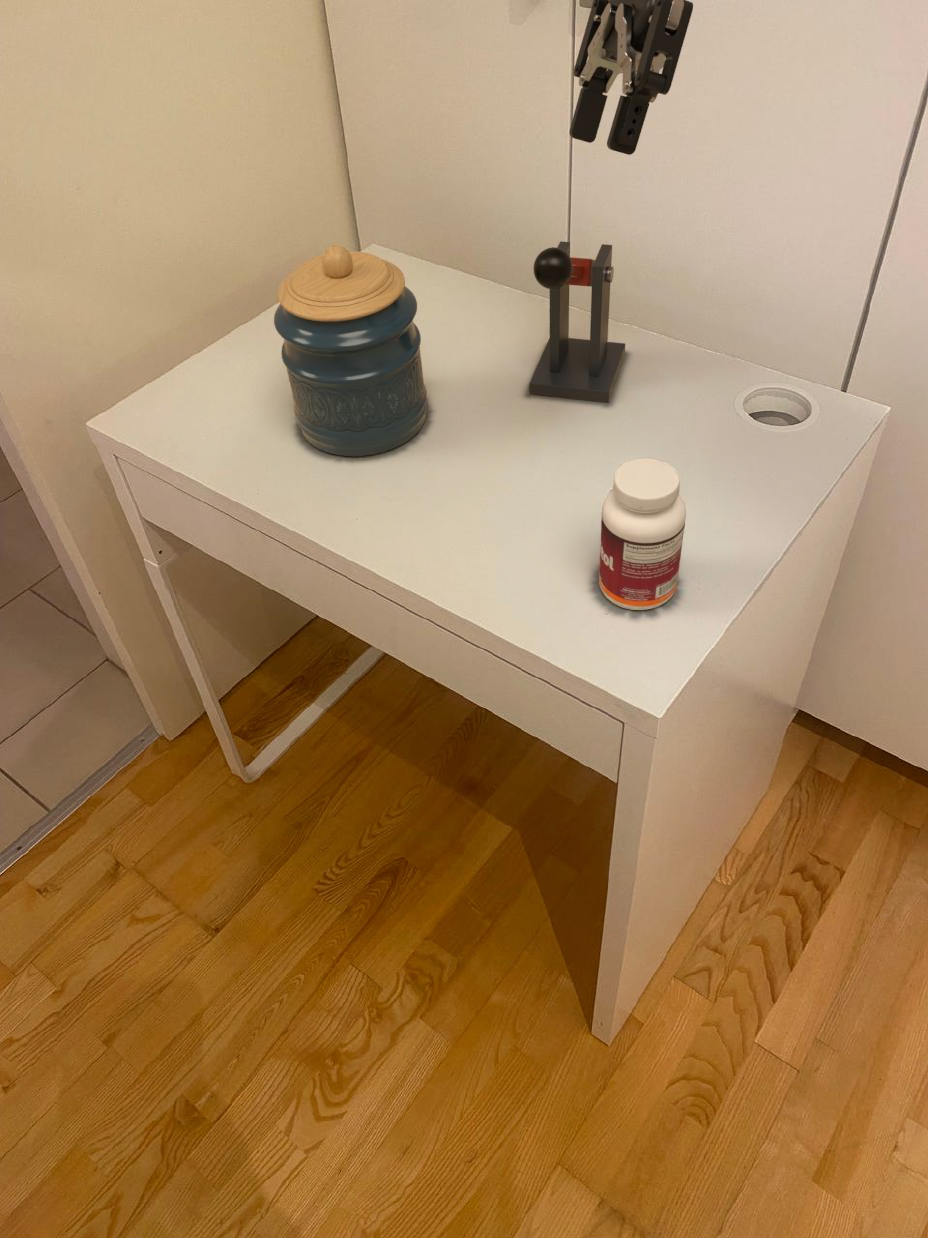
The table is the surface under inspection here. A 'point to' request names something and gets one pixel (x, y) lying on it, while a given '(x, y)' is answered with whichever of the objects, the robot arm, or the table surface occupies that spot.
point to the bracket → (580, 343)
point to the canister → (352, 353)
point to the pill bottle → (642, 535)
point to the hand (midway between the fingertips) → (599, 145)
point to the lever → (562, 269)
